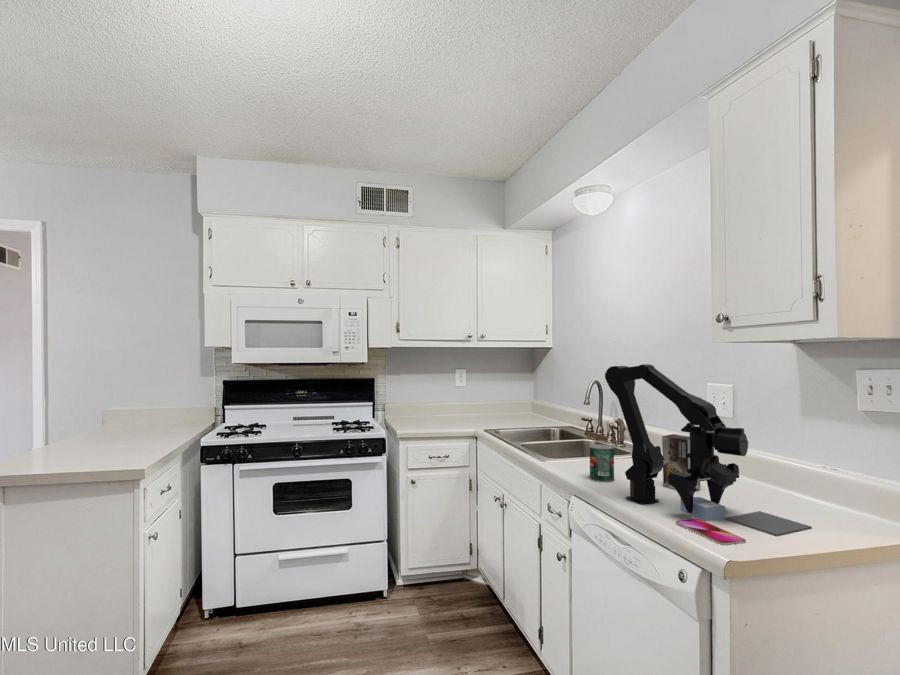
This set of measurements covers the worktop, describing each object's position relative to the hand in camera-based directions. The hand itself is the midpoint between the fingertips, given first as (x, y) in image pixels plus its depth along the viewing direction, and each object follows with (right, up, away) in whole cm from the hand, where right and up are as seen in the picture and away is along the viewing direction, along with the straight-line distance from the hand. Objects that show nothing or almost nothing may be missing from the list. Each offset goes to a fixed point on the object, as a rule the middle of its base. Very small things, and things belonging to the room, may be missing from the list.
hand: (702, 510), depth 132 cm
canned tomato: (-15, -2, +37) cm, 40 cm away
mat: (+12, -1, -7) cm, 14 cm away
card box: (0, -1, 0) cm, 1 cm away
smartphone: (-5, -1, -13) cm, 14 cm away
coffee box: (+6, -2, +26) cm, 26 cm away
